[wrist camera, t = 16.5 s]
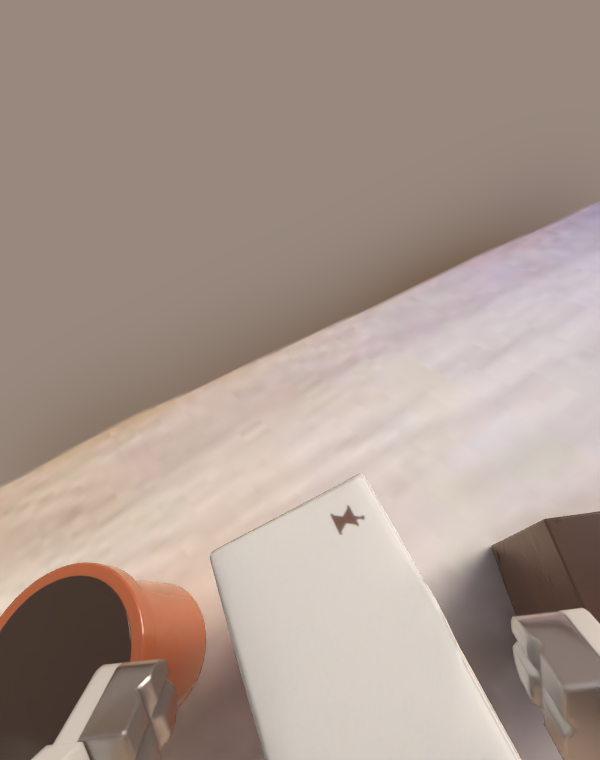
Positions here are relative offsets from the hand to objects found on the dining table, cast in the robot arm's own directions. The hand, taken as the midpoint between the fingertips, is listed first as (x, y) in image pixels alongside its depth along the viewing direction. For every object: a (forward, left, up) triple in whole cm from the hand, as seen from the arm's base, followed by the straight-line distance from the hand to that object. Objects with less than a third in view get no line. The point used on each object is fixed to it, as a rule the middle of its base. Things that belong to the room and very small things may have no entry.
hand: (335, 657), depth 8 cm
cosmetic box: (0, 0, -10) cm, 10 cm away
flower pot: (-10, 0, -10) cm, 14 cm away
